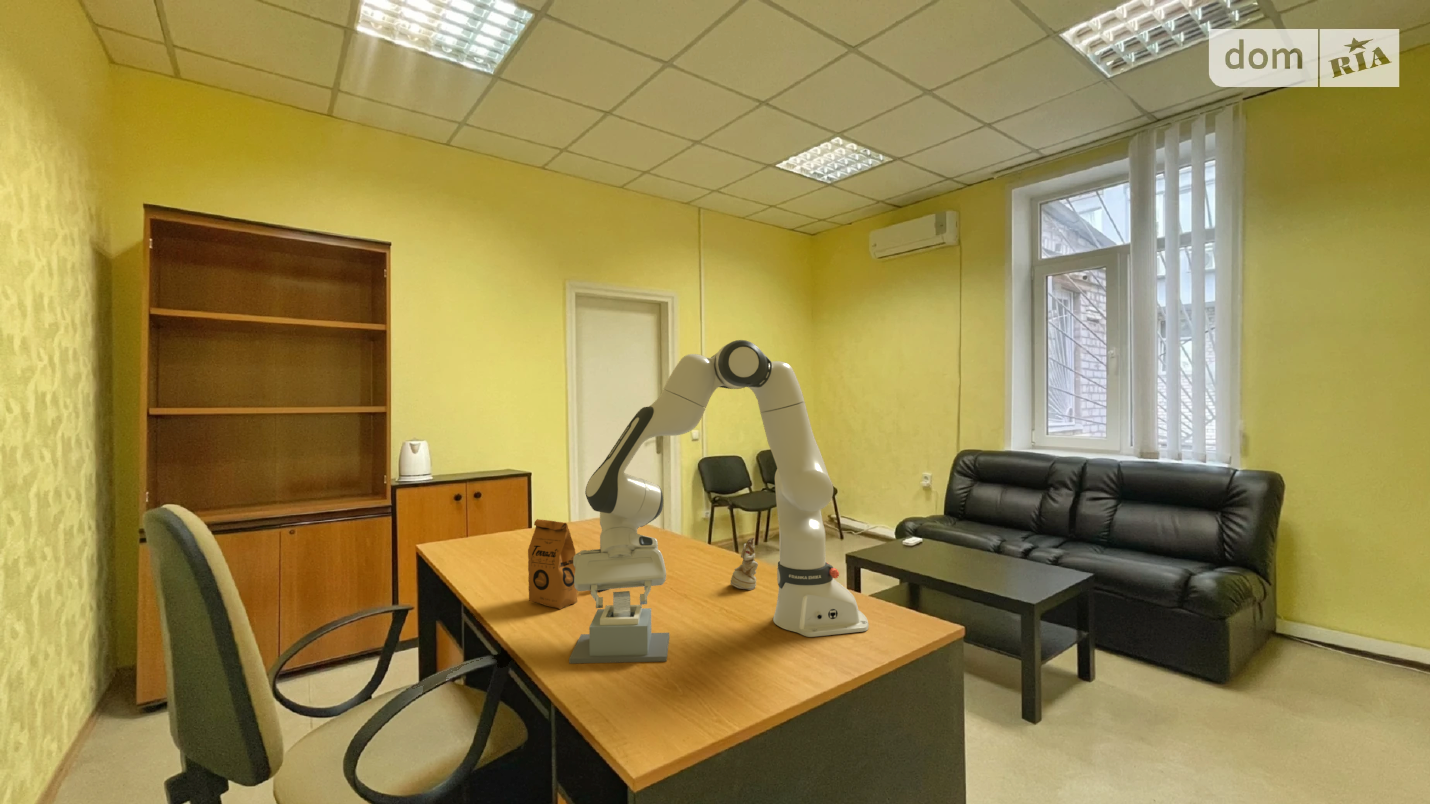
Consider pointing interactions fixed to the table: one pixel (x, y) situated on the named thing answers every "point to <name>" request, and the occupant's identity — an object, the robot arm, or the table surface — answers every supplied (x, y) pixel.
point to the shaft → (621, 604)
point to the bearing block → (621, 642)
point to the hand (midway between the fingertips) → (621, 605)
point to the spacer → (620, 620)
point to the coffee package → (551, 565)
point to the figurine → (746, 568)
